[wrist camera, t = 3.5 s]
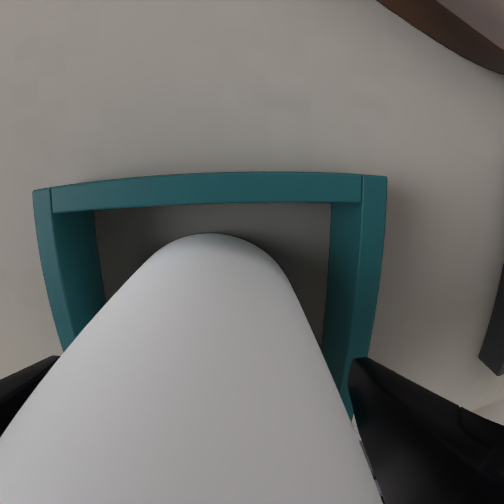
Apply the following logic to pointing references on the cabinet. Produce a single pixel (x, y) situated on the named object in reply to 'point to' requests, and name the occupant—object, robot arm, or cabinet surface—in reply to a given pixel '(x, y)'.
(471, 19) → the round wooden coaster
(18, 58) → the cabinet surface
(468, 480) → the robot arm
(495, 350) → the button panel
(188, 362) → the can
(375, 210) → the teal square frame
